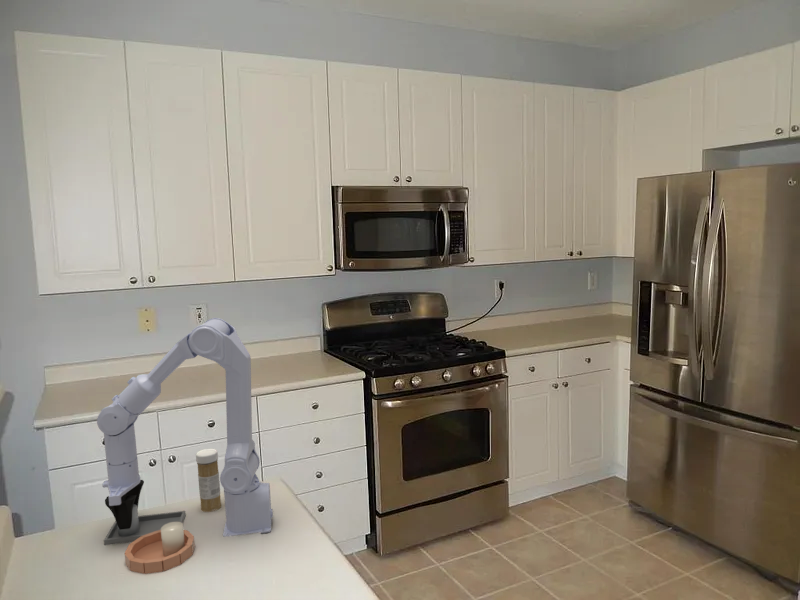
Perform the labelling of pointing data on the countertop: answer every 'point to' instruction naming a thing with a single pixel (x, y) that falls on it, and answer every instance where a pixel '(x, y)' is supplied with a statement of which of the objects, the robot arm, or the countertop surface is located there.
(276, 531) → the countertop surface
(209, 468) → the sprinkles bottle
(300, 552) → the countertop surface
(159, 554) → the bowl
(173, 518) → the tray
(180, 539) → the cream rounded cylinder
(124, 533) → the grey rounded cylinder
